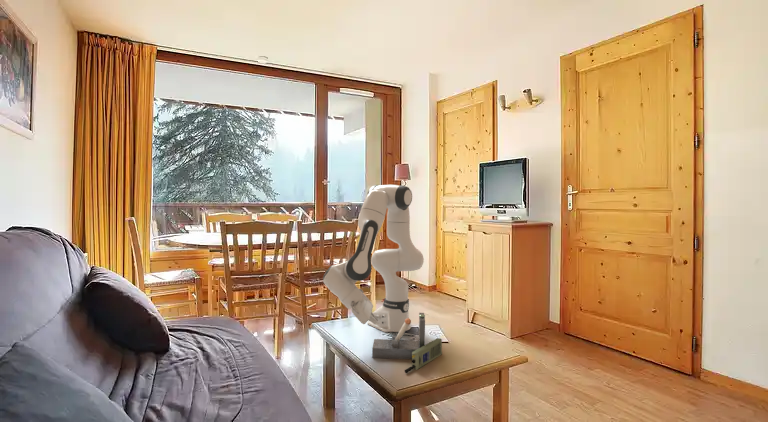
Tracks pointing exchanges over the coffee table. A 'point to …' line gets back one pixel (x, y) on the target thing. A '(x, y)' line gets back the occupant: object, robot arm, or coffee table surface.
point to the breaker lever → (403, 329)
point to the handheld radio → (425, 354)
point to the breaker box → (399, 345)
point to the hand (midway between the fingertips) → (376, 322)
